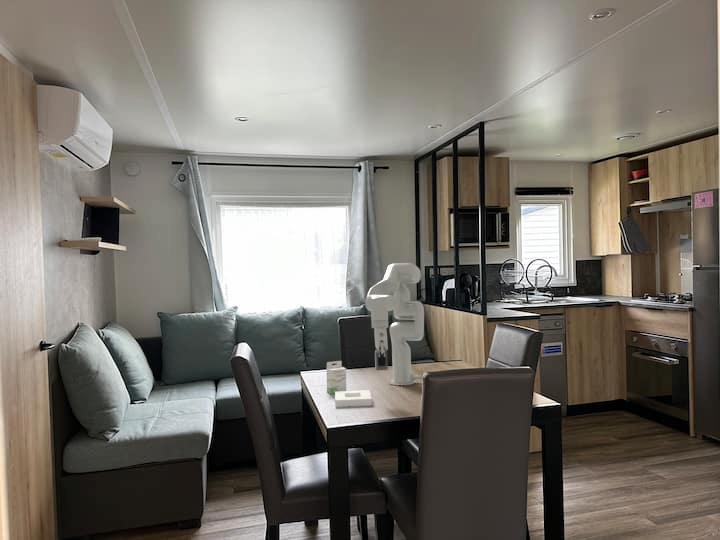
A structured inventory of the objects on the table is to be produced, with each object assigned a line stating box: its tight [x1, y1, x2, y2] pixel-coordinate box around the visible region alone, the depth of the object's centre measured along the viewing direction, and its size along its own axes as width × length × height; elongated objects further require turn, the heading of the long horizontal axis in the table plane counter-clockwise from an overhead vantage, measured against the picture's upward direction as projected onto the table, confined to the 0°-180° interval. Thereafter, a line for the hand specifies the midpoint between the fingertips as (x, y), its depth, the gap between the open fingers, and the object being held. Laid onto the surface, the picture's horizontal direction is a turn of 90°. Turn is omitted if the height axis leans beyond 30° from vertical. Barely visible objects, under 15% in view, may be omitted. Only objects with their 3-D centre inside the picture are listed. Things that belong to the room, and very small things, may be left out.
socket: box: [334, 389, 373, 408], centre depth 230 cm, size 16×16×3 cm
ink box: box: [326, 360, 347, 395], centre depth 249 cm, size 9×5×15 cm, turn 118°
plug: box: [374, 349, 389, 371], centre depth 228 cm, size 5×5×10 cm
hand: (381, 364), depth 228 cm, fingers closed on plug, 5 cm apart
